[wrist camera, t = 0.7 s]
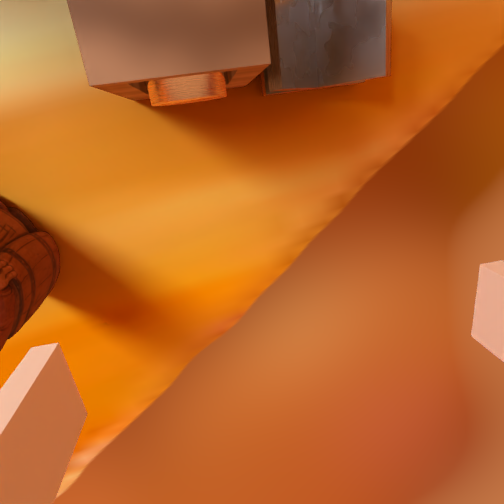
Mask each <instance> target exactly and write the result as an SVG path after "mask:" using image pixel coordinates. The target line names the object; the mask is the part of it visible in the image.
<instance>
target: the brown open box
mask: <svg viewBox="0 0 504 504" xmlns="http://www.w3.org/2000/svg"><path fill="white" fill-rule="evenodd" d="M67 3H68V6H69V10H70V14H71V18H72V21H73V25H74V29H75V33H76V36H77V40H78V44H79V48H80V52H81V55H82V59H83V63H84V67H85V70H86V74H87V78H88V82H89V86H92V87H95V88H98V89H101V90H104V91H107V92H110V93H113V94H116V95H119V96H122V97H125V98H128V99H131V100H134V101H135V100H142V99H150V97H149V92H148V88H147V83H146V81H152V80H161V79H169V78H177V77H185V76H193V75H201V74H209V73H217V72H224V77H225V85H226V89H229V88H236V87H244V86H246V85H247V84H248V83H250V82H251V81H252V80H253V79H254V78H255V77H256V76H257V75H259V74H260V73H261V72H262V71H263V70H264V69H265V68H266V67H268V66H269V65H270V64H271V59H270V49H269V38H268V28H267V17H266V6H265V0H67Z"/></svg>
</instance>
